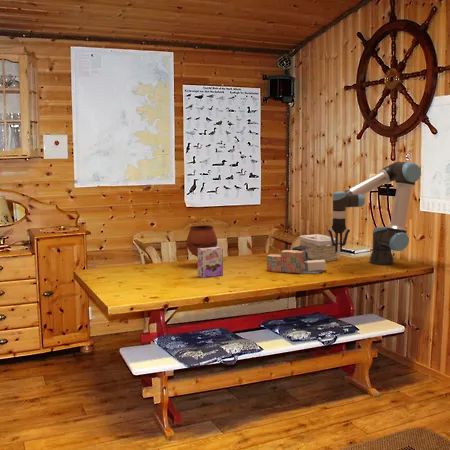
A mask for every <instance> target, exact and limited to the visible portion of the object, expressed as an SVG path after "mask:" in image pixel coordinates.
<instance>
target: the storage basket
mask: <svg viewBox="0 0 450 450" xmlns="http://www.w3.org/2000/svg"><path fill="white" fill-rule="evenodd" d="M333 239H334V243H335V237H333ZM299 244H300V246H306V247H308V260H310V261H311V260H325V262H334V261H337V259H338V257H337V252H336V251H335V246H333V245H332V241H331V237H330V236H328V235H324V234H320V233H315V234H304V235H299ZM338 244H340V239H338Z"/></svg>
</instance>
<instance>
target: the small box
mask: <svg viewBox="0 0 450 450" xmlns="http://www.w3.org/2000/svg"><path fill="white" fill-rule="evenodd" d="M291 249H292V250H298V251H304V261H309V259H308V247H306V246H301V245H299V246H294V247H292V248H291Z"/></svg>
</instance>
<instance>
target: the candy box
mask: <svg viewBox="0 0 450 450" xmlns="http://www.w3.org/2000/svg"><path fill="white" fill-rule="evenodd" d="M223 253H224V248H223V247H220V246H217V247H211V248H198V259H197V262H198V267H197V277H199V278H201V279H202V278H203V279H206V278H212V277H221V276H224V263H223V262H224V261H223V260H224V259H223V258H224V255H223Z"/></svg>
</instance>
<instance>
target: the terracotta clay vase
mask: <svg viewBox="0 0 450 450" xmlns="http://www.w3.org/2000/svg"><path fill="white" fill-rule="evenodd" d="M189 228H190V229H189V232H188V234H187V238H186V247H187V249H188V250H187V251H189V252H190V253H191V254H192V255H193V256H195V257H197V260H198V248H211V247H218V237H217V235H216V232H215V230H214V225H209V224H207V225H205V224H204V225H203V224H202V225H191V226H190V227H189ZM194 266H195V268H196V267H197V268H198V261H197V262H196V263H195V265H194Z"/></svg>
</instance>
